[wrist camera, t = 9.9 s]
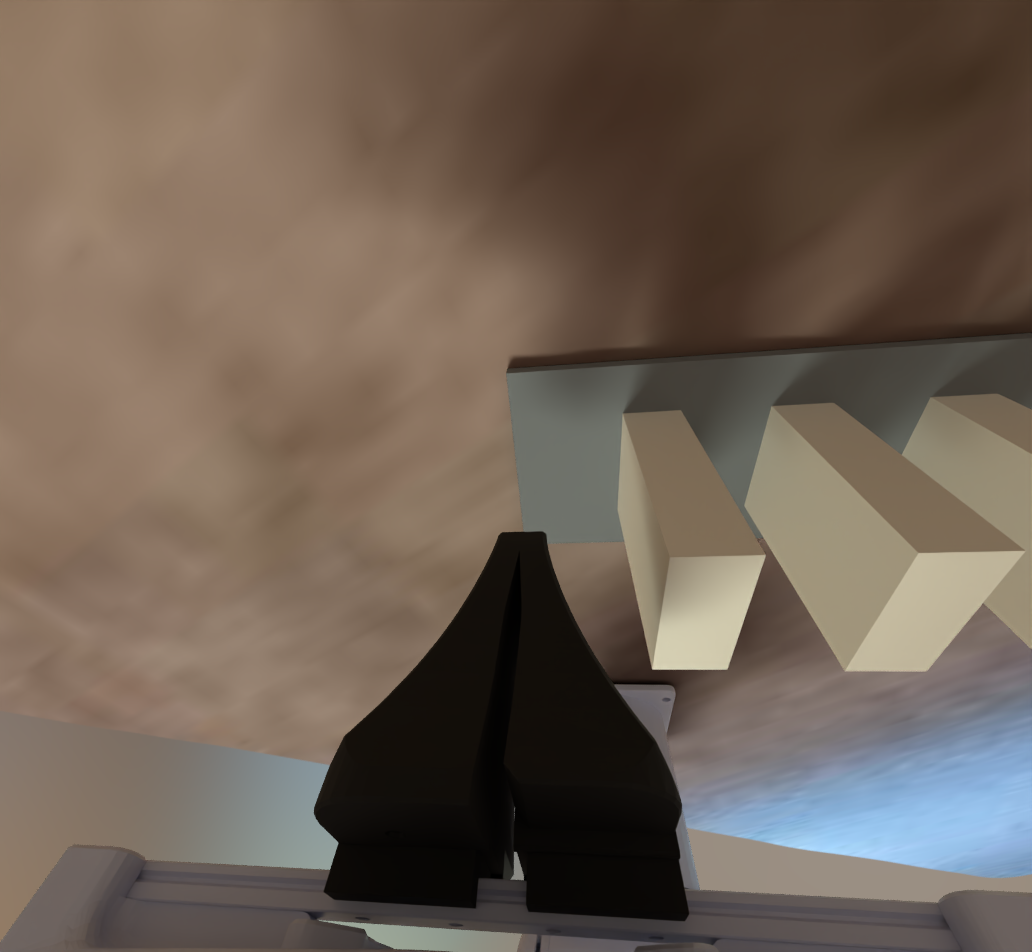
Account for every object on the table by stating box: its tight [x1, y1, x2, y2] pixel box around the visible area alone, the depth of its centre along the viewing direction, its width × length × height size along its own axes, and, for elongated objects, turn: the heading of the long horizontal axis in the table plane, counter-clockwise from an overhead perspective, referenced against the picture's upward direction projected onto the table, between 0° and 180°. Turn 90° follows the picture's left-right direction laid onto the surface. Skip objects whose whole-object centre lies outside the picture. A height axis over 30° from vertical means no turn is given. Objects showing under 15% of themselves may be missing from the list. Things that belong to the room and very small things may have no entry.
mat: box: [506, 333, 1032, 544], centre depth 15 cm, size 8×30×1 cm, turn 95°
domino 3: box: [902, 394, 1032, 649], centre depth 12 cm, size 4×2×7 cm, turn 5°
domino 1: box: [618, 410, 766, 670], centre depth 13 cm, size 4×2×7 cm, turn 5°
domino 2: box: [744, 403, 1025, 671], centre depth 13 cm, size 4×2×7 cm, turn 5°
